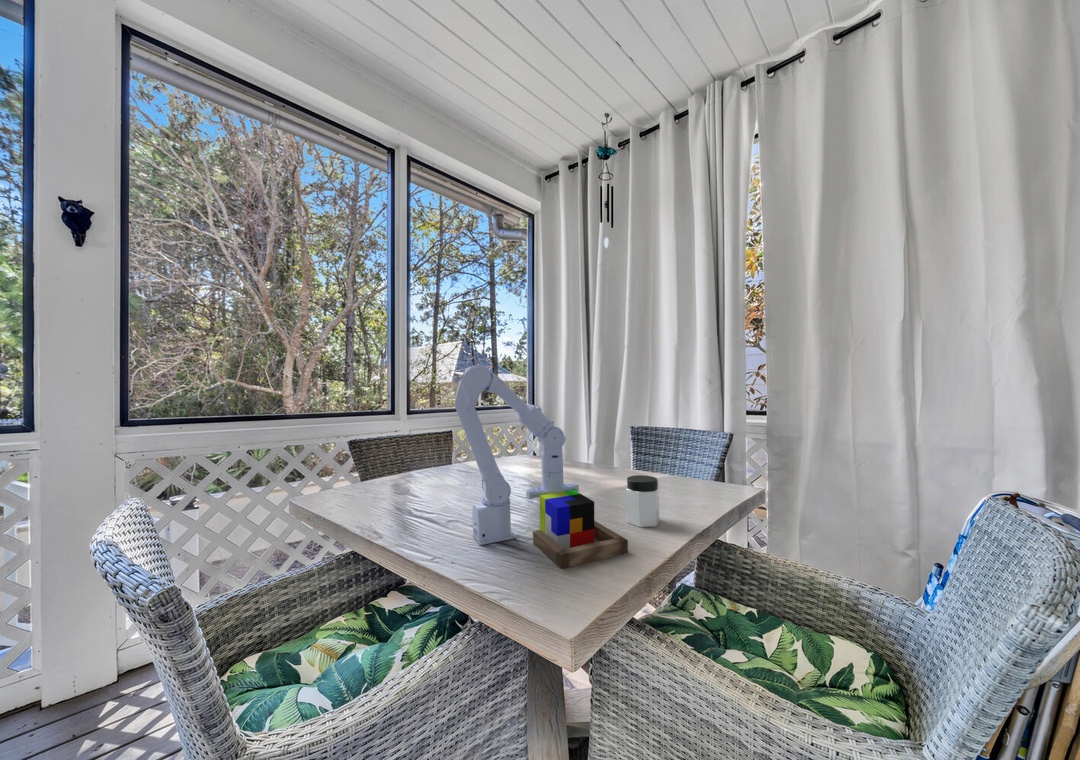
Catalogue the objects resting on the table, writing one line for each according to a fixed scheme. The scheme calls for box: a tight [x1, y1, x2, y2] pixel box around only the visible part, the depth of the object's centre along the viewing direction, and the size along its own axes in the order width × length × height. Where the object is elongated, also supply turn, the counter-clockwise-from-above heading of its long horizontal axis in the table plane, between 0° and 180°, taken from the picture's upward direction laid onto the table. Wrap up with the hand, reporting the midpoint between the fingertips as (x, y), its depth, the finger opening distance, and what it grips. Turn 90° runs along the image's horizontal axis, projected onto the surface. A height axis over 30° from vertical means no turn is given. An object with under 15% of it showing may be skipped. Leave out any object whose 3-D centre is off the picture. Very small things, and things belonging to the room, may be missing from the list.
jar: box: [625, 474, 660, 528], centre depth 112 cm, size 9×8×12 cm
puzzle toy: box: [539, 490, 595, 549], centre depth 102 cm, size 10×10×10 cm
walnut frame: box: [532, 520, 629, 570], centre depth 96 cm, size 17×15×3 cm
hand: (553, 522), depth 109 cm, fingers closed, pressing on puzzle toy
